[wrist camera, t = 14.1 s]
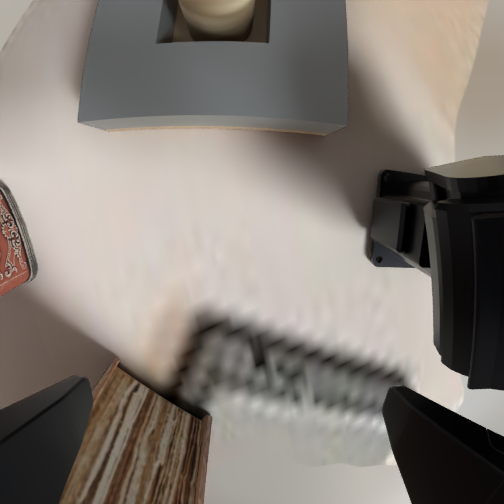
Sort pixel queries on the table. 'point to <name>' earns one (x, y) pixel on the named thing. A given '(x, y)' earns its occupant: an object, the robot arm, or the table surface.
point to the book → (138, 448)
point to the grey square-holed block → (217, 70)
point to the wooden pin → (218, 19)
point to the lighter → (14, 245)
